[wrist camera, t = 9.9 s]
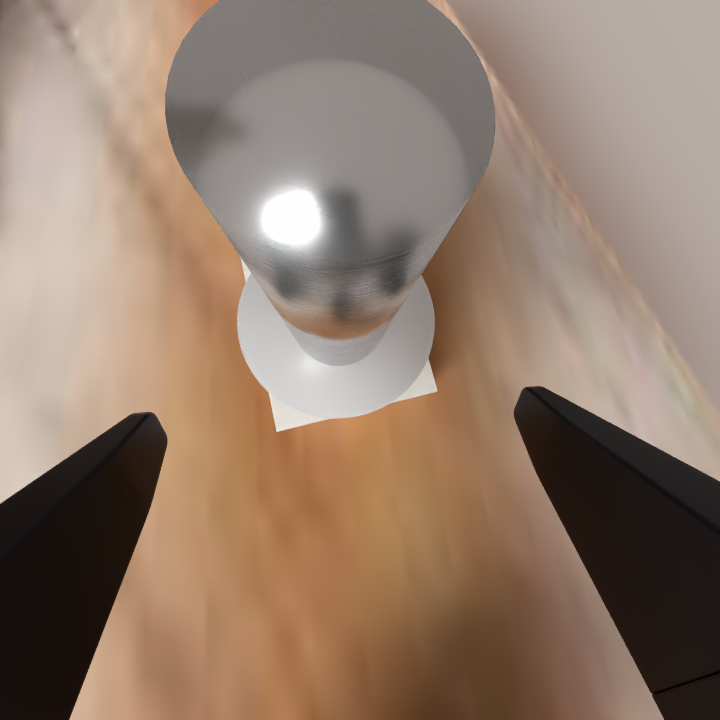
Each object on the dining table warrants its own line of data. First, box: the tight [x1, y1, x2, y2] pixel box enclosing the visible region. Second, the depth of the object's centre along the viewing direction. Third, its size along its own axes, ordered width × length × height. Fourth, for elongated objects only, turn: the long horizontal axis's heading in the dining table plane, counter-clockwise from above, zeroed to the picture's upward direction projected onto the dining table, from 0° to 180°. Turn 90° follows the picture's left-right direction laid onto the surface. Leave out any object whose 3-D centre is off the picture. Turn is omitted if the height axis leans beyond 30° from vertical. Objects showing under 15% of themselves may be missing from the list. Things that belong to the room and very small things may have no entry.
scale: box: [237, 259, 438, 432], centre depth 18 cm, size 13×10×5 cm
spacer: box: [165, 0, 495, 366], centre depth 10 cm, size 5×5×12 cm
